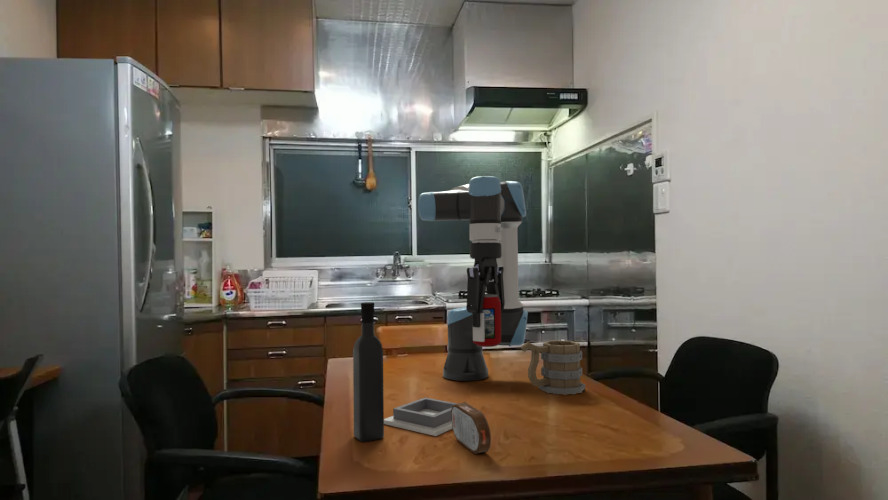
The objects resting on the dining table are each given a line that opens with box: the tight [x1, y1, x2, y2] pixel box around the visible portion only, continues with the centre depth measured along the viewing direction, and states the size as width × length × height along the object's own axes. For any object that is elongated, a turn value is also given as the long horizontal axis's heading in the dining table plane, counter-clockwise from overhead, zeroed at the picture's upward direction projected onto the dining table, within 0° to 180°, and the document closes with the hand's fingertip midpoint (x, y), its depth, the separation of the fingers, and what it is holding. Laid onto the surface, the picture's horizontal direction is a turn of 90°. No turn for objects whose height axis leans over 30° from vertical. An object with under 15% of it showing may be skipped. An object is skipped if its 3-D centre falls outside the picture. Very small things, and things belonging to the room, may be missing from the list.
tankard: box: [520, 340, 586, 396], centre depth 159 cm, size 20×13×15 cm, turn 108°
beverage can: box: [472, 293, 501, 348], centre depth 127 cm, size 7×7×12 cm
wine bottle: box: [352, 301, 385, 443], centre depth 120 cm, size 6×6×30 cm
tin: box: [451, 401, 492, 455], centre depth 113 cm, size 15×3×8 cm, turn 22°
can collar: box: [384, 397, 458, 437], centre depth 131 cm, size 16×16×4 cm
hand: (486, 338), depth 127 cm, fingers closed on beverage can, 7 cm apart
